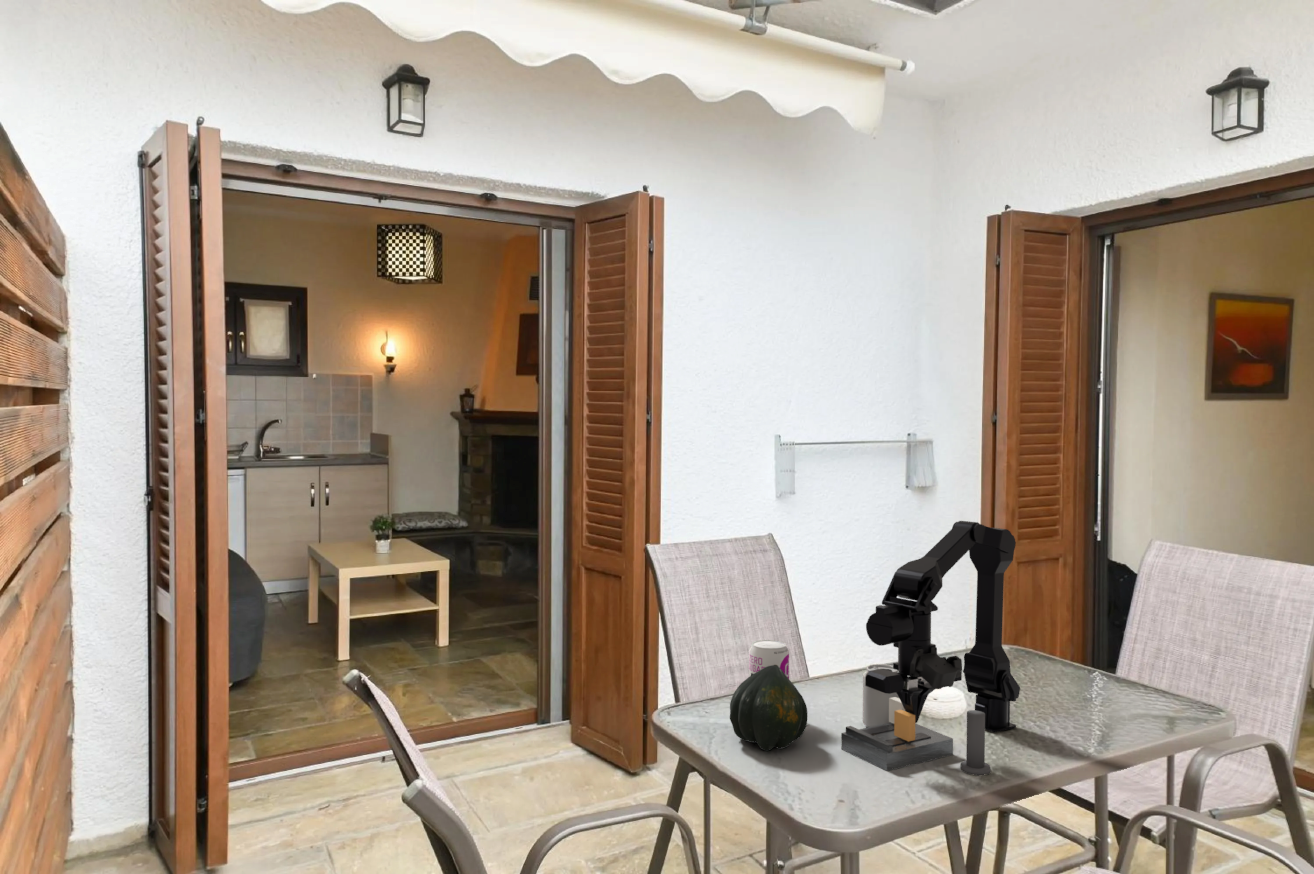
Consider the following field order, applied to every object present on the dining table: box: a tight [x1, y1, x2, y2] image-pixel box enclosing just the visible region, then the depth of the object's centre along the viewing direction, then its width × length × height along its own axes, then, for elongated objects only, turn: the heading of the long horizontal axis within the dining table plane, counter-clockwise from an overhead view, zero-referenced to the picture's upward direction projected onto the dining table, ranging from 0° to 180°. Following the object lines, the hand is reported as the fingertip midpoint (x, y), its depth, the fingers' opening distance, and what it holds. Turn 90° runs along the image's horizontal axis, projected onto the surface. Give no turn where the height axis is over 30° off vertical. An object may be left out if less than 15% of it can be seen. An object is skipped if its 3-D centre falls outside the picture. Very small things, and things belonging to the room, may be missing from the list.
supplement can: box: [748, 639, 790, 680], centre depth 187 cm, size 8×8×15 cm
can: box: [862, 663, 900, 728], centre depth 181 cm, size 8×8×12 cm
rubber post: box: [959, 709, 992, 776], centre depth 159 cm, size 5×5×10 cm
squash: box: [729, 665, 808, 752], centre depth 172 cm, size 14×15×15 cm
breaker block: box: [840, 723, 954, 772], centre depth 167 cm, size 16×12×4 cm
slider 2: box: [894, 710, 915, 742], centre depth 165 cm, size 2×4×4 cm, turn 29°
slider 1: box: [889, 697, 905, 723], centre depth 173 cm, size 2×4×4 cm, turn 29°
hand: (913, 722), depth 166 cm, fingers closed
